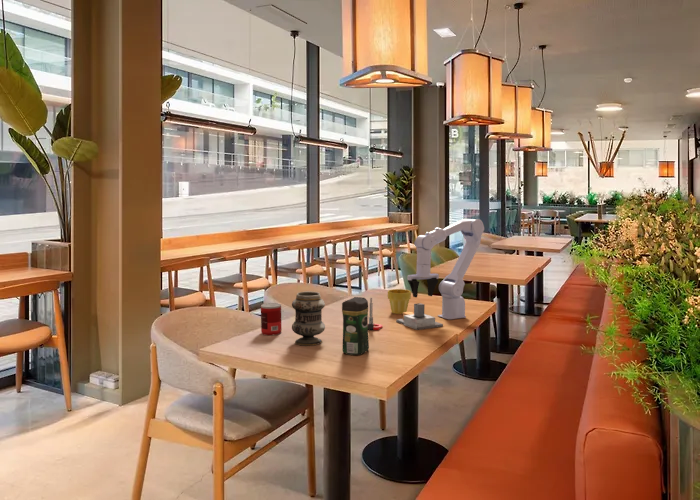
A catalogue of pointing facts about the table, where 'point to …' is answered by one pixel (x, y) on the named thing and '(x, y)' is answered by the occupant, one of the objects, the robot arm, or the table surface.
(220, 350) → the table surface
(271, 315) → the canned food
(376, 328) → the tow hook
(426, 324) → the bracket fixture
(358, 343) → the coffee jar
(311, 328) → the apothecary jar
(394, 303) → the plant pot
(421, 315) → the pin
